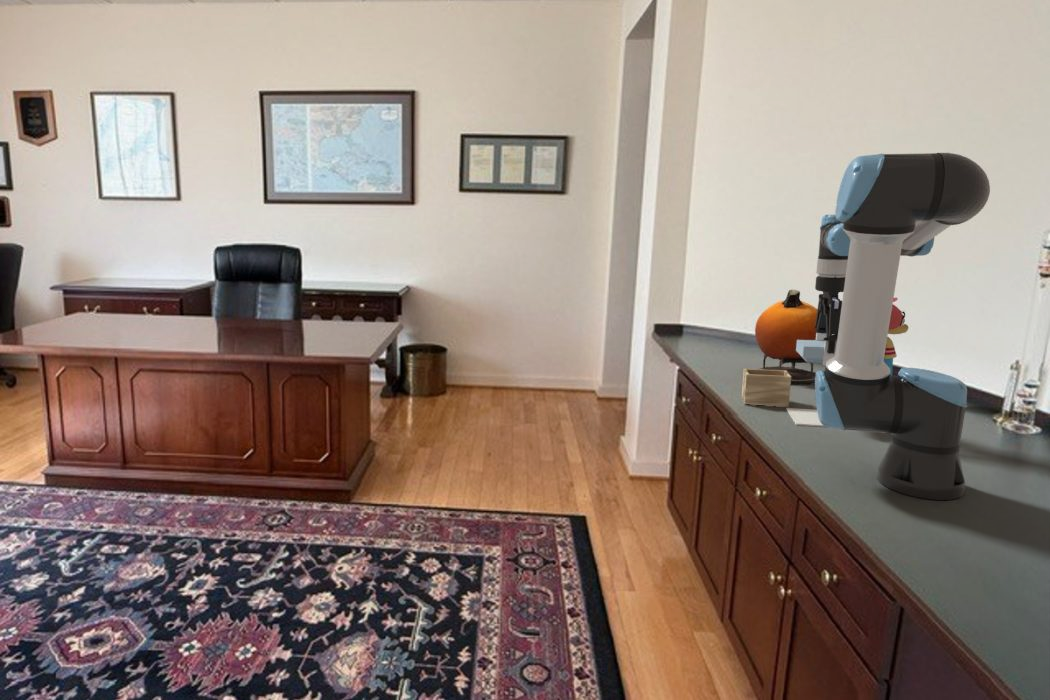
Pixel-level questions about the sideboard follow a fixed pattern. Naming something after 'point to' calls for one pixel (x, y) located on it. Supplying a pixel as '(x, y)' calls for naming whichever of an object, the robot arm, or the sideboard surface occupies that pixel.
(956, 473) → the robot arm
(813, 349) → the lid
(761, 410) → the sideboard surface
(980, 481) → the sideboard surface
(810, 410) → the pad
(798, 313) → the pumpkin
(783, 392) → the box
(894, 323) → the toy
